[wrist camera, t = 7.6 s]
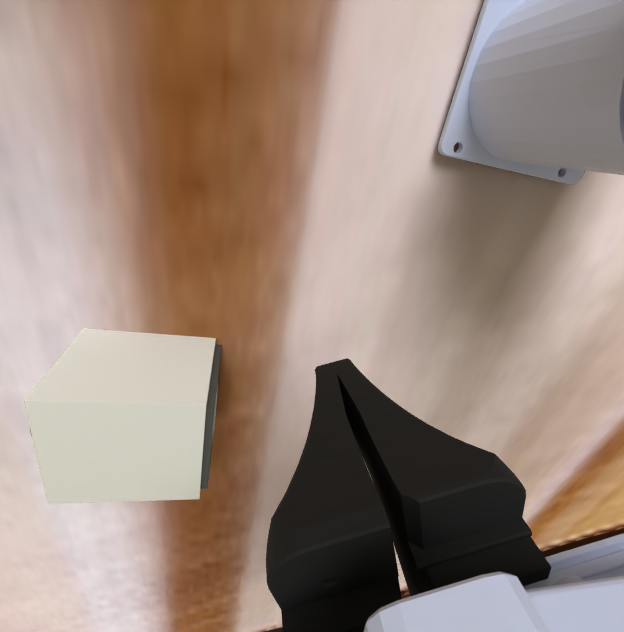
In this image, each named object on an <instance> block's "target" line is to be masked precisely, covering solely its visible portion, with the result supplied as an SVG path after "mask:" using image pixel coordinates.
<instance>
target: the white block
mask: <svg viewBox="0 0 624 632" xmlns="http://www.w3.org/2000/svg"><path fill="white" fill-rule="evenodd" d="M215 342H216V338H207V337H193V336H180V335H166V334H153V333H139V332H126V331H112V330H99V329H85V328H83V329H82V331H81V332H80V333H79V334H78V335H77V337H76V338H75V339H74V340H73V342H72V343H71V344H70V345H69V346H68V348H67V349H66V350H65V351H64V353H63V354H62V355H61V356H60V357H59V359H58V360H57V361H56V362H55V364H54V365H53V366H52V367H51V368H50V370H49V371H48V372H47V373H46V375H45V376H44V377H43V378H42V379H41V381H40V382H39V383H38V384H37V386H36V387H35V388H34V389H33V390H32V392H31V393H30V394H29V395H28V397H27V398H26V399H25V400H24V403H25V408H26V412H27V416H28V421H29V425H30V429H31V434H32V438H33V443H34V447H35V451H36V456H37V460H38V464H39V469H40V473H41V477H42V482H43V486H44V490H45V495H46V499H47V504H61V503H92V502H123V501H153V500H184V499H199V497H200V489H203V488H208V479H209V470H210V460H211V451H212V434H213V422H214V411H215V402H216V393H217V384H218V380H219V368H220V357H221V346H222V345H215Z"/></svg>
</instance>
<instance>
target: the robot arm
mask: <svg viewBox="0 0 624 632" xmlns="http://www.w3.org/2000/svg"><path fill="white" fill-rule="evenodd" d="M456 143H458V144H459V148H458V150H457V151H456V152H454V150H453V149H454V145H455V144H456ZM438 151H439V153H440V154H442V155H444V156H448V157H452V158H457V159H461V160H465V161H470V162H474V163H478V164H483V165H487V166H491V167H496V168H500V169H504V170H509V171H513V172H517V173H522V174H526V175H530V176H535V177H539V178H543V179H548V180H552V181H556V182H561V183H565V184H571V185H572V184H576V183H577V182H579V181H580V179H581V178H582V176H583V174H584V172H585V170H586V171H594V172H602V173H611V174H619V175H624V0H484V3H483V6H482V9H481V12H480V15H479V19H478V22H477V25H476V28H475V31H474V34H473V37H472V40H471V44H470V47H469V50H468V53H467V56H466V59H465V62H464V65H463V69H462V72H461V75H460V78H459V81H458V84H457V87H456V90H455V93H454V97H453V100H452V103H451V106H450V109H449V112H448V115H447V118H446V122H445V125H444V128H443V131H442V134H441V137H440V140H439V143H438ZM560 169H561V173H560V174H559V175H558V172H559V171H560ZM315 373H316V394H315V403H314V410H313V415H312V420H311V425H310V429H309V433H308V437H307V440H306V443H305V447H304V450H303V452H302V455H301V458H300V461H299V464H298V466H297V469H296V471H295V473H294V475H293V478H292V480H291V482H290V484H289V487H288V489H287V491H286V493H285V495H284V497H283V499H282V500H281V502H280V504H279V506H278V508H277V510H276V511H275V513H274V515H273V517H272V519H271V524H270V529H269V535H268V542H267V553H266V572H267V584H268V587H269V590H270V592H271V593H272V595H273V597H274V598H275V600H276V602H277V603H278V605H279V607H280V608H281V611H282V625H283V632H624V533H623V534H620V535H617V536H614V537H610V538H607V539H604V540H601V541H598V542H594V543H591V544H587V545H584V546H581V547H578V548H575V549H571V550H568V551H565V552H561V553H558V554H555V555H551V556H548V557H544V555H543V554H542V553H541V551H540V550H539V548H538V547H537V545H536V544H535V542H534V541H533V540H532V538H531V537H530V536H532V532H531V529H530V528H529V527H528V525H527V524H526V522H525V521H524V520H523V518H522V515H523V510H524V504H525V499H526V490H525V488H524V487H523V485H522V483H521V482H520V481H519V479H518V478H517V477H516V476H515V474H514V473H513V472H512V471H511V470H510V469H509V468H508V467H507V466H506V465H505V464H504V463H503V462H502V461H501V460H500V459H499V458H498V457H497V456H496V455H495V454H494V453H491V452H488V451H486V450H483V449H480V448H478V447H475V446H472V445H470V444H467V443H465V442H462V441H460V440H458V439H456V438H454V437H451V436H449V435H447V434H446V433H444V432H442V431H440V430H438V429H436V428H434V427H432V426H430V425H428V424H427V423H425V422H423V421H422V420H420V419H418V418H417V417H415V416H414V415H412V414H411V413H409V412H407V411H406V410H405V409H403V408H402V407H400V406H399V405H398V404H396V403H395V402H394V401H392V400H391V399H390V398H388V397H387V396H386V395H385V394H384V393H382V392H381V391H380V390H379V389H378V388H377V387H376V386H374V385H373V384H372V383H371V382H370V381H369V380H368V379H367V378H366V377H365V376H364V375H363V374H362V373H361V372H360V371H359V370H358V369H357V368H356V367H355V365H354V364H353V363H352V362H351V360H349V359H343V360H339V361H336V362H332V363H328V364H325V365H321V366H317V367H316V369H315ZM361 454H362V455H361ZM363 459H364V460H363ZM364 461H365V462H364ZM365 463H366V465H365ZM366 466H367V467H366ZM367 468H368V470H369V472H368V470H367ZM369 473H370V474H369ZM370 475H371V477H370ZM371 478H372V479H371ZM372 480H373V481H372ZM373 483H374V484H373ZM393 543H394V545H393ZM394 546H395V549H396V552H397V555H398V558H399V561H400V564H401V567H402V571H403V574H404V577H405V580H406V583H407V586H408V589H409V593H410V596H411V597H408V598H405V599H401V592H400V586H399V580H398V576H399V575H398V569H397V563H396V557H395V551H394Z"/></svg>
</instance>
